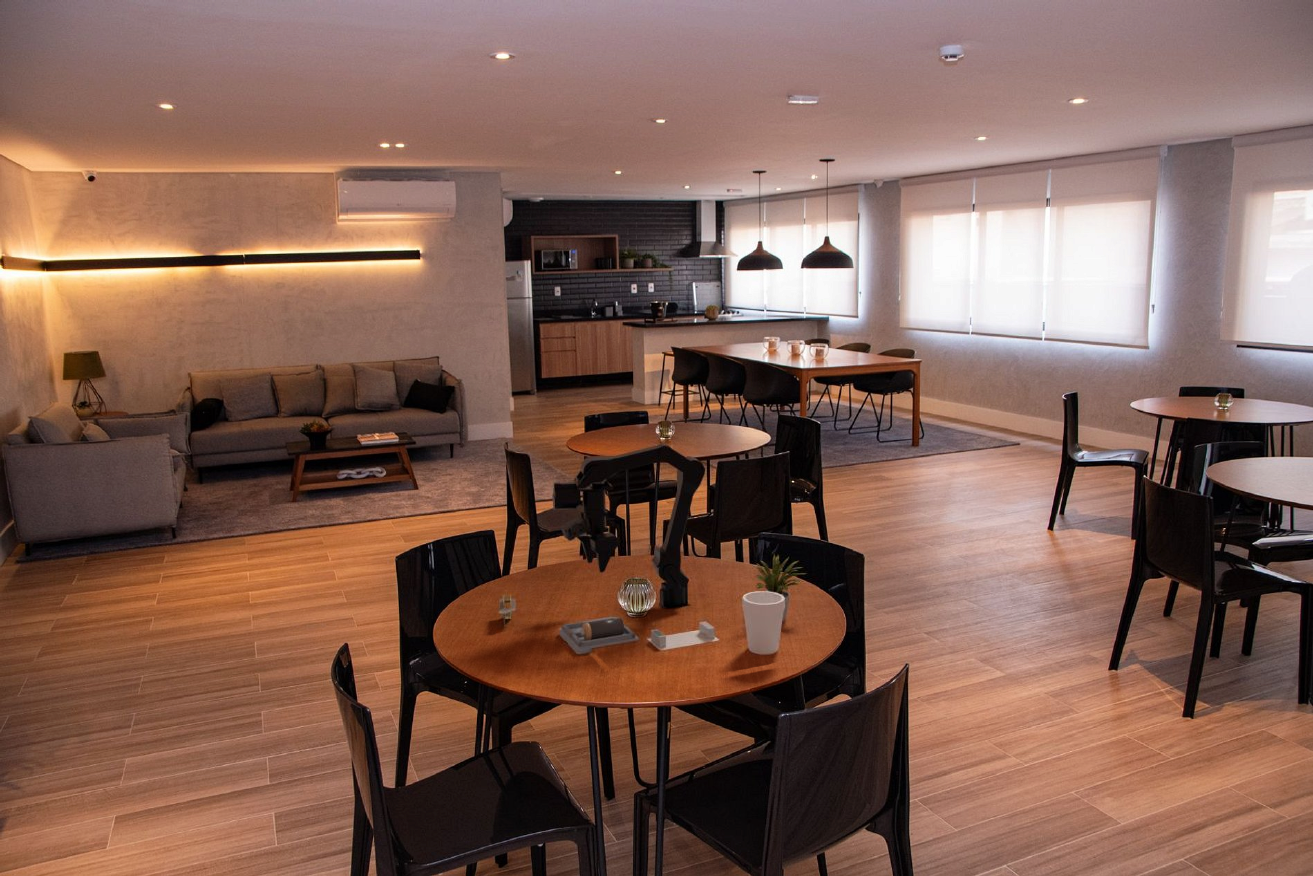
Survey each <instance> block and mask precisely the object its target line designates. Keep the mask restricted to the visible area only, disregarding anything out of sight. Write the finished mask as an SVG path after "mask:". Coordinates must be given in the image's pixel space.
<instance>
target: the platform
mask: <svg viewBox="0 0 1313 876" xmlns="http://www.w3.org/2000/svg"><path fill="white" fill-rule="evenodd" d="M507 603H509V604H510V607H506V604H507ZM515 611H516V599H515V598H512V594H511V593H510V594H505V595H503V598H499V606H498V614H502V615H503V628H504V627H505V628H506V619H507V620H509V619H511V618H513V617H512V616H513V614H512V612H515ZM511 620H512V619H511Z"/></svg>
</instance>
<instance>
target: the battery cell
mask: <svg viewBox="0 0 1313 876" xmlns="http://www.w3.org/2000/svg"><path fill="white" fill-rule="evenodd" d="M624 624H625V623H624V620H623V619H622V617H617V618H615V619H609V620H602V621H596V622H590V623H583V625H582V629H581V630H580V632H581V636H583V637H584V640H585V641H587V640H593V639H599V638H605V637H611V636H618V635H623V634H624Z"/></svg>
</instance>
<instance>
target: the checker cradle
mask: <svg viewBox="0 0 1313 876" xmlns="http://www.w3.org/2000/svg"><path fill="white" fill-rule="evenodd" d="M698 623H699V624H698V626H699V628H698V629H697V630H693V631H684V632H679V633H673V634H668V635H665V634H664V633H662V631H660V630H659V629H658V628H656V629H652V630H650V638H646V640H647V641H648V642H650V644H652V645H653V646H654V647H655V648H657V649H658V650H659V652H660V651H666V650H673V649H678V648H684V647H689V646H695V645H701V644H706V643H712V642H717V641H718V642H719V641H720V639H719V638H717V637H716V628H715V627H714V626H712V625H711V624H710V623H708V622H707V621H700V622H698Z"/></svg>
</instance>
